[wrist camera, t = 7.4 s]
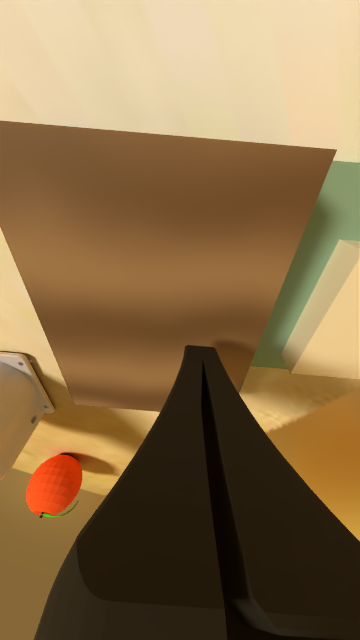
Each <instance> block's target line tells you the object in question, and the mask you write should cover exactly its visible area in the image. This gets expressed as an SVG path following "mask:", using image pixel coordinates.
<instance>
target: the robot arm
mask: <svg viewBox="0 0 360 640" xmlns="http://www.w3.org/2000/svg"><path fill="white" fill-rule="evenodd" d="M54 410H55V409H54V407H53V405H52V403H51V402H50V400H49V398H48V396H47V394H46V392H45V390H44V388H43V387H42V385H41V383H40V381H39V379H38V377H37V375H36V374H35V372H34V370H33V368H32V366H31V364H30V362H29V361H28V359H27V357H26V356H25V355H23V354H20V353H8V352H0V481H1V479H2V478H3V477H4V476H5V475H6V474H7V473H8V471H9V470H10V469H11V467H12V466H13V464H14V462H15V461H16V459H17V458H18V456H19V454H20V453H21V451H22V449H23V448H24V446H25V445H26V443H27V441H28V440H29V438H30V436H31V435H32V433H33V431H34V430H35V428H36V427H37V425H38V423H39V422H40V420H41V418H42V417H43V415H44V414H45V413H47V414H52V413H53V412H54ZM34 640H360V541H359V540H358V539H357V538H356V537H355V536H354V535H353V534H352V533H351V532H350V531H349V530H348V529H347V528H346V527H345V526H344V525H343V524H342V523H341V522H340V520H339V519H338V518H337V517H336V516H335V515H334V514H333V513H332V512H331V511H330V510H329V509H328V507H326V505H325V504H324V503H323V502H322V501H321V500H320V499H319V498H318V496H317V495H316V494H315V493H314V492H313V491H312V490H311V489H310V488H309V486H308V485H307V484H306V483H305V482H304V480H303V479H302V478H301V477H300V476H299V475H298V473H297V472H296V471H295V470H294V469H293V467H292V466H291V465H290V464H289V463H288V462H287V461H286V459H285V458H284V457H283V456H282V454H281V453H280V452H279V451H278V449H277V448H276V447H275V445H274V444H273V443H272V441H271V440H270V439H269V438H268V436H267V435H266V434H265V432H264V431H263V429H262V428H261V427H260V425H259V424H258V422H257V421H256V420H255V418H254V417H253V415H252V414H251V412H250V411H249V409H248V408H247V406H246V404H245V403H244V401H243V400H242V398H241V397H240V395H239V393H238V392H237V390H236V388H235V386H234V385H233V383H232V381H231V379H230V377H229V376H228V374H227V372H226V370H225V368H224V366H223V364H222V362H221V360H220V358H219V355H218V353H217V351H216V349H215V348H214V347H207V346H194V345H187V346H185V349H184V356H183V360H182V363H181V367H180V370H179V372H178V375H177V377H176V380H175V383H174V385H173V387H172V389H171V391H170V394H169V396H168V398H167V400H166V402H165V404H164V406H163V408H162V410H161V412H160V414H159V416H158V417H157V419H156V421H155V423H154V425H153V426H152V428H151V430H150V431H149V433H148V435H147V436H146V438H145V440H144V441H143V443H142V445H141V446H140V448H139V449H138V451H137V453H136V454H135V456H134V457H133V459H132V460H131V462H130V463H129V465H128V466H127V468H126V469H125V470H124V472H123V473H122V475H121V476H120V478H119V479H118V481H117V482H116V484H115V485H114V487H113V488H112V489H111V491H110V492H109V494H108V495H107V496H106V498H105V499H104V500H103V502H102V503H101V505H100V506H99V507H98V509H97V510H96V511H95V513H94V514H93V515H92V517H91V518H90V519H89V521H88V522H87V524H86V525H85V526H84V528H83V529H82V530H81V532H80V533H79V535H78V536H77V538H76V541H75V542H74V544H73V546H72V548H71V549H70V551H69V553H68V555H67V557H66V559H65V561H64V563H63V564H62V566H61V568H60V570H59V573H58V575H57V577H56V579H55V582H54V584H53V586H52V589H51V591H50V594H49V596H48V599H47V602H46V605H45V608H44V611H43V614H42V617H41V620H40V623H39V626H38V629H37V632H36V635H35V638H34Z"/></svg>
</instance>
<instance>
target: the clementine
mask: <svg viewBox="0 0 360 640" xmlns="http://www.w3.org/2000/svg"><path fill="white" fill-rule="evenodd" d="M81 482H82V469H81V466H80V464H79V462H78V461H77V460H76V459H75V458H73V457H72V456H69V455H58V456H55V457H52V458H50V459H48V460H47V461H45V462H44V463H42V464H41V465H40V466H39V467H38V468H37V469H36V471H35V472H34V474H33V475H32V477H31V479H30V481H29V484H28V487H27V493H26V499H27V504H28V506H29V508H30V510H31V511H32V512H33V513H35V514H38V515H40V518H42V516H45V517H58V516H53V515H55V514H57V513H59V512H61V511H62V510H64V509H65V508H66V507H67V506H68V505H69V504H70V503H71V502H72V501H73V500H74V498H75V497H76V495H77V493H78V491H79V489H80V487H81ZM76 504H77V503H76ZM75 506H76V505H75ZM75 506H74V507H75ZM74 507H73V508H74ZM73 508H72V509H73ZM72 509H71V510H72ZM71 510H70V511H71ZM70 511H68V512H67V513H69V512H70ZM67 513H65V514H67ZM65 514H63V515H65ZM63 515H60V516H63Z"/></svg>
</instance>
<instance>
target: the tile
mask: <svg viewBox="0 0 360 640" xmlns="http://www.w3.org/2000/svg"><path fill="white" fill-rule="evenodd" d="M281 355H282V357H283V359H284V361H285V363H286V365H287V367H288V370H289V372H290V373H291V374H303V375H314V376H326V377H338V378H350V379H360V241H352V240H341V239H339V241H338V243H337V245H336V247H335V249H334V251H333V253H332V255H331V257H330V259H329V261H328V263H327V265H326V267H325V269H324V270H323V272H322V274H321V276H320V278H319V280H318V282H317V284H316V286H315V288H314V290H313V292H312V294H311V296H310V298H309V300H308V302H307V304H306V306H305V308H304V310H303V312H302V314H301V315H300V317H299V319H298V321H297V323H296V325H295V327H294V329H293V331H292V333H291V335H290V337H289V339H288V341H287V343H286V345H285V347H284V349H283V351H282V353H281Z"/></svg>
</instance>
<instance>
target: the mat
mask: <svg viewBox="0 0 360 640" xmlns="http://www.w3.org/2000/svg"><path fill="white" fill-rule="evenodd" d="M339 239H341V240H352V241H360V163H353V162H341V161H332V163H331V166H330V168H329V171H328V173H327V176H326V178H325V181H324V183H323V186H322V188H321V191H320V193H319V196H318V198H317V201H316V203H315V206H314V208H313V210H312V213H311V215H310V218H309V220H308V223H307V225H306V228H305V230H304V233H303V235H302V238H301V240H300V243H299V245H298V248H297V250H296V253H295V255H294V258H293V260H292V263H291V265H290V268H289V270H288V272H287V275H286V277H285V280H284V282H283V285H282V287H281V290H280V292H279V295H278V297H277V300H276V302H275V305H274V307H273V310H272V312H271V315H270V317H269V320H268V322H267V325H266V327H265V330H264V332H263V335H262V337H261V339H260V342H259V344H258V347H257V349H256V352H255V354H254V357H253V359H252V362H251V364H250V366H260V367H271V368H283V369H288V367H287V365H286V363H285V361H284V359H283V357H282V355H281V353H282V351H283V349H284V347H285V345H286V343H287V341H288V339H289V337H290V335H291V333H292V331H293V329H294V327H295V325H296V323H297V321H298V319H299V317H300V315H301V314H302V312H303V310H304V308H305V306H306V304H307V302H308V300H309V298H310V296H311V294H312V292H313V290H314V288H315V286H316V284H317V282H318V280H319V278H320V276H321V274H322V272H323V270H324V269H325V267H326V265H327V263H328V261H329V259H330V257H331V255H332V253H333V251H334V249H335V247H336V245H337V243H338V241H339Z"/></svg>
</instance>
